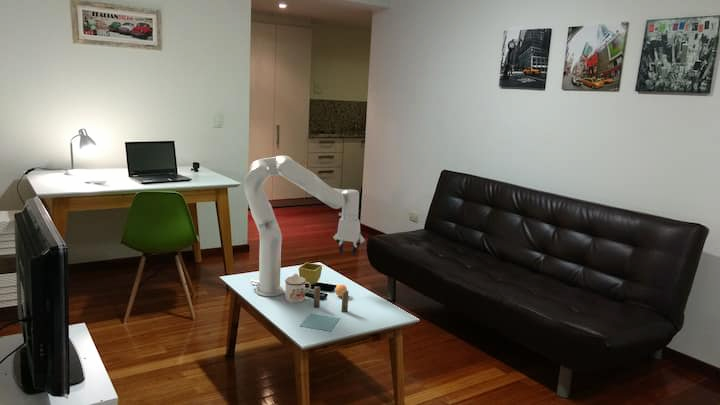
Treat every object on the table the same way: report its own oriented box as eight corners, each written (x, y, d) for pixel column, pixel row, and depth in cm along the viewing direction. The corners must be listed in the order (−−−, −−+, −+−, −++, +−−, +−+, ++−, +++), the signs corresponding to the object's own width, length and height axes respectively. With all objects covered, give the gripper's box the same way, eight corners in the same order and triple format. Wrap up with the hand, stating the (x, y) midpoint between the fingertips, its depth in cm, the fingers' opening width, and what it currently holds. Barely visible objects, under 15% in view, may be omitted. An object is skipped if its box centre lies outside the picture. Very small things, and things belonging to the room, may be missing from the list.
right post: (340, 312, 238) (341, 292, 236) (342, 309, 240) (343, 290, 238) (346, 312, 237) (347, 293, 235) (348, 310, 239) (349, 290, 238)
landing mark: (299, 326, 222) (299, 325, 222) (310, 313, 234) (310, 313, 234) (330, 331, 219) (330, 330, 219) (340, 318, 231) (340, 317, 231)
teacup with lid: (289, 304, 243) (290, 279, 240) (281, 297, 250) (282, 272, 248) (314, 300, 249) (315, 275, 246) (306, 293, 256) (306, 269, 254)
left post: (312, 307, 240) (313, 288, 239) (314, 305, 243) (315, 286, 241) (318, 308, 240) (319, 288, 238) (320, 306, 242) (321, 286, 240)
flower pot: (314, 288, 262) (315, 270, 260) (297, 285, 265) (298, 267, 263) (322, 282, 270) (322, 265, 268) (305, 279, 273) (306, 262, 271)
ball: (333, 297, 253) (333, 285, 252) (336, 293, 258) (337, 281, 257) (344, 299, 252) (345, 287, 251) (348, 294, 257) (348, 283, 256)
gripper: (329, 216, 255) (328, 254, 259) (366, 220, 251) (363, 258, 255) (334, 212, 262) (332, 249, 266) (369, 216, 258) (367, 253, 262)
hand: (348, 253), depth 260 cm, fingers open, 5 cm apart
